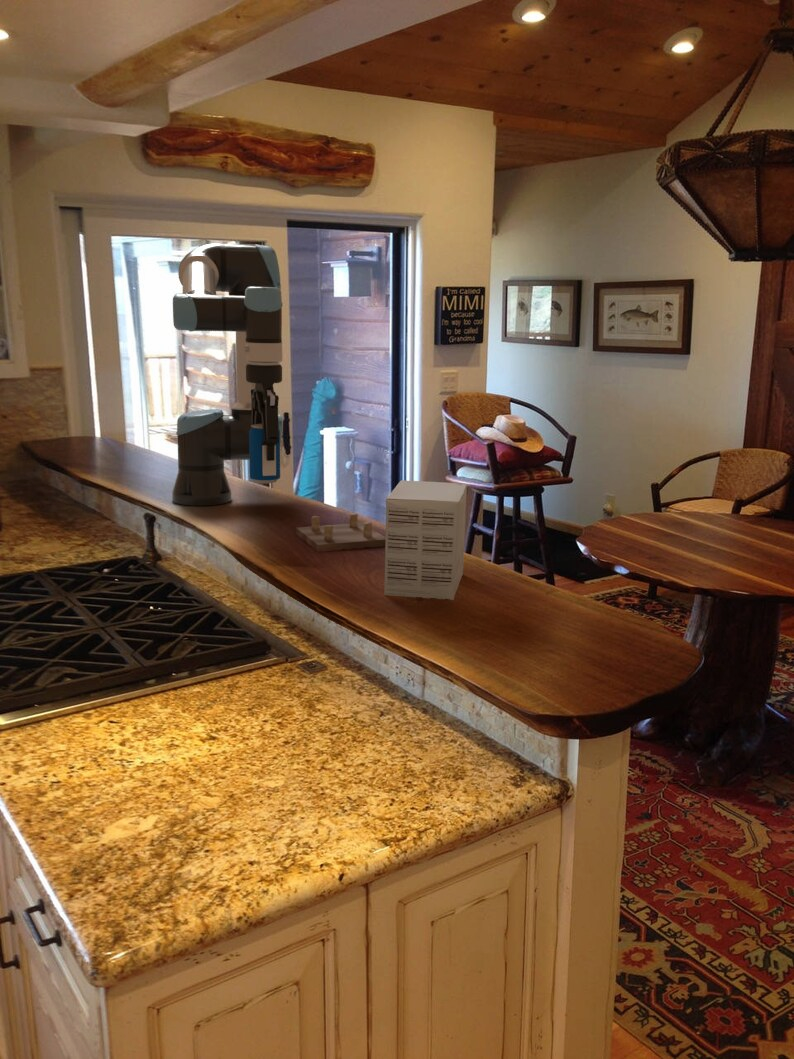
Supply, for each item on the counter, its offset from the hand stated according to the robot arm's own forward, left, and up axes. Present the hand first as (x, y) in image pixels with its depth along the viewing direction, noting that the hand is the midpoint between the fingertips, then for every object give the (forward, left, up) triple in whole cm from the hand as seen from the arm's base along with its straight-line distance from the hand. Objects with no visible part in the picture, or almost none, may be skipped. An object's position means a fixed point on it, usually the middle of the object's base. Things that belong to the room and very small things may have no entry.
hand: (265, 471), depth 195 cm
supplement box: (+40, +20, -16) cm, 48 cm away
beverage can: (0, 0, -2) cm, 2 cm away
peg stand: (+4, +16, -15) cm, 22 cm away
